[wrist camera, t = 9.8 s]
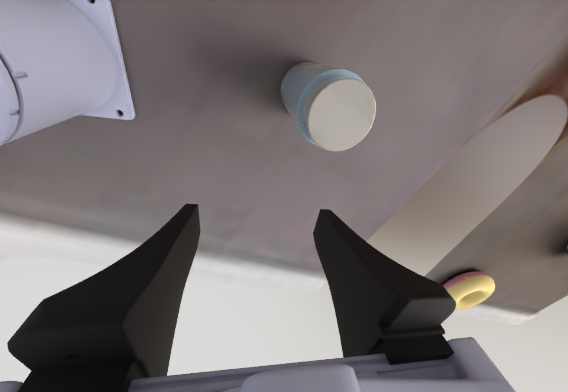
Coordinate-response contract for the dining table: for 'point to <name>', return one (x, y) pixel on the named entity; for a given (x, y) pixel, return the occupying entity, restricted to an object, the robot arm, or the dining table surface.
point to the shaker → (328, 105)
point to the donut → (470, 289)
